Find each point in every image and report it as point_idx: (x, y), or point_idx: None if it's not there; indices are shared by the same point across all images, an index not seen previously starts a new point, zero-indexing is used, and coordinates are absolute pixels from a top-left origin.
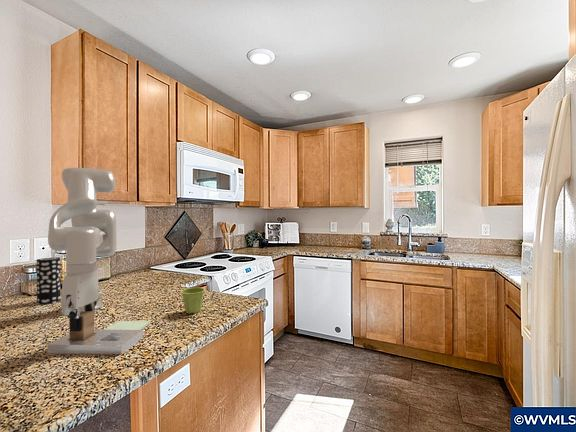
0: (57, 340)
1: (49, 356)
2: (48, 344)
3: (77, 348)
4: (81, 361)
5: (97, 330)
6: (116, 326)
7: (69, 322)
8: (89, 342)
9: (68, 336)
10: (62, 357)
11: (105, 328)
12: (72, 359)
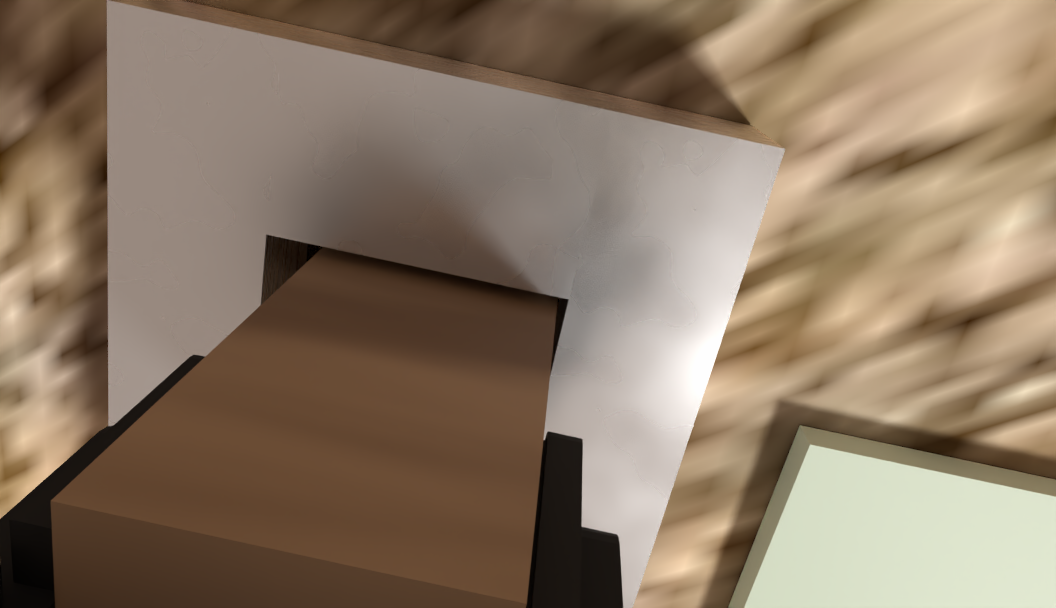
0: (268, 76)
1: (93, 95)
2: (108, 16)
3: None
4: None
5: (622, 511)
6: (936, 579)
7: (161, 399)
8: None
9: (432, 175)
10: (74, 284)
11: (904, 462)
12: (36, 419)
